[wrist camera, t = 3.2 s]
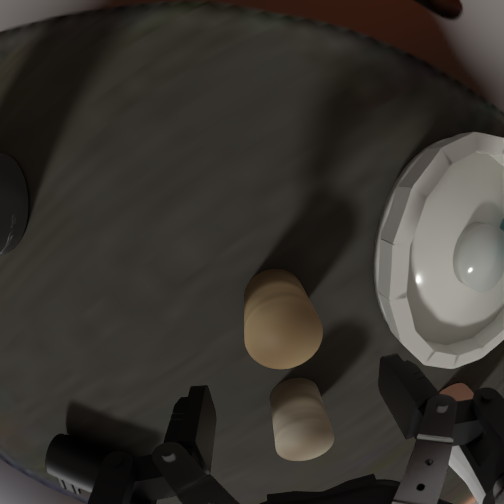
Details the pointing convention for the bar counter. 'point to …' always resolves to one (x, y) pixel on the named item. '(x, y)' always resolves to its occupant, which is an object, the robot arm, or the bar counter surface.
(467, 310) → the tray
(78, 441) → the end cap
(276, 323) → the bead oak
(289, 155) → the bar counter surface
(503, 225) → the bead teal
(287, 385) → the bead maple
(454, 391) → the salt shaker
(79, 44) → the bar counter surface
